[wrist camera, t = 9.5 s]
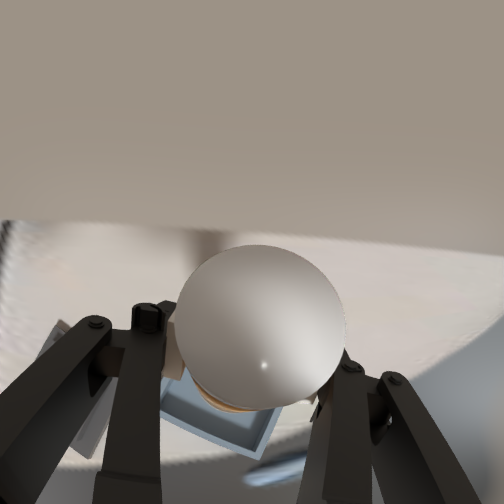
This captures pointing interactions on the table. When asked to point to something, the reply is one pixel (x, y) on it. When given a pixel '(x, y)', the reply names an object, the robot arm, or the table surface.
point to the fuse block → (98, 416)
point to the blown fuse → (259, 328)
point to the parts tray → (215, 418)
